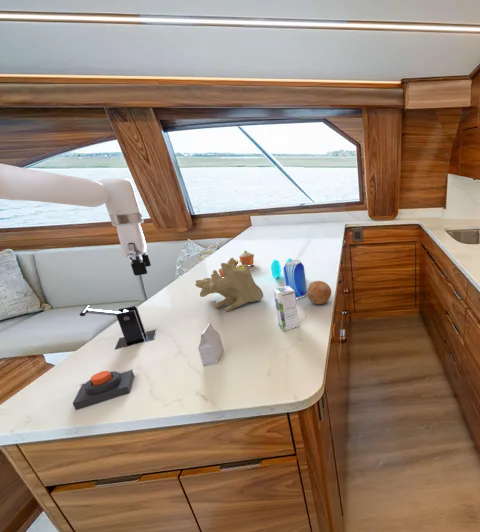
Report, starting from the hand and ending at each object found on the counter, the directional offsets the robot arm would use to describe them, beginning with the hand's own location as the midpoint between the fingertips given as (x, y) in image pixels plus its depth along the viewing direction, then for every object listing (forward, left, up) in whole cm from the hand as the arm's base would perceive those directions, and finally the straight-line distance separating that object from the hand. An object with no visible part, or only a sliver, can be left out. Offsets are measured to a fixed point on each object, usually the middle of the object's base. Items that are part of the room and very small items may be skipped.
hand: (143, 270), depth 99 cm
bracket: (-6, -3, -23) cm, 24 cm away
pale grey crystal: (+15, -29, -23) cm, 40 cm away
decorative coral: (+24, +11, -23) cm, 35 cm away
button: (-10, -30, -19) cm, 37 cm away
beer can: (+49, +2, -23) cm, 54 cm away
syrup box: (+39, -23, -23) cm, 51 cm away
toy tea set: (+31, +58, -23) cm, 69 cm away
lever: (-11, -3, -12) cm, 17 cm away
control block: (-9, -30, -23) cm, 39 cm away
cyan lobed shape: (+50, +31, -23) cm, 63 cm away
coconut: (+55, -11, -23) cm, 60 cm away
